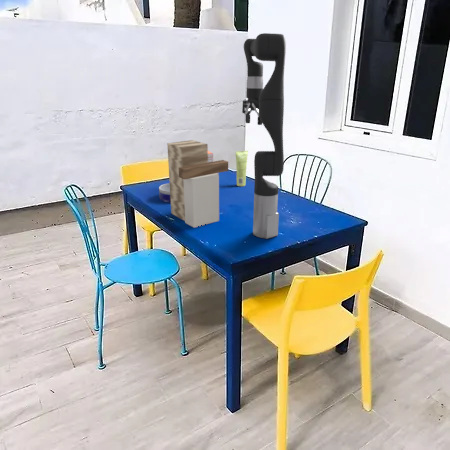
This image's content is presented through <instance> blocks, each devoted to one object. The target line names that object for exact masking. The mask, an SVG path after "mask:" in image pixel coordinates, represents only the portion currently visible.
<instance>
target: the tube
mask: <svg viewBox="0 0 450 450" xmlns="http://www.w3.org/2000/svg"><path fill="white" fill-rule="evenodd" d="M248 154H249V150H235V162H236V165H235V166H236V169H235V170H236V186H238V187H245V186H246V183H247V182H246V181H247V180H246V179H247V162H248V156H249V155H248Z"/></svg>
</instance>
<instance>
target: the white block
mask: <svg viewBox="0 0 450 450" xmlns="http://www.w3.org/2000/svg"><path fill="white" fill-rule="evenodd" d="M219 174H220V173H215V174H209V175H204V176H199V177H194V178H189V179H183V183H184V206H185V221H184V222H185V224H186V225H188V226H190V227H192V228H193V229H194V228H198V226H199V227H202V226H205V224H206V225H208V224H213V223H216V222H219V221H220V175H219ZM201 225H202V226H201Z"/></svg>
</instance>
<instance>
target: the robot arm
mask: <svg viewBox="0 0 450 450" xmlns="http://www.w3.org/2000/svg"><path fill="white" fill-rule="evenodd" d="M286 43H287V41H286V37H285V34H283V33H271V32H270V33H269V32H268V33H266V32H265V33H259V34H258V35H257V36H256V37H255V38H247V39H246V40H245V41H244V43H243V52H244V55H245V59H246V65H247V66H246V67H247V68H246V76H247V77H246V91H245V94H246V95H245V98H246V99H244V100H242V108H241V109H242V111H241V112H242V114H244V115H245V116H244V117H245V119H244V120H245V121H244V122H245V123H246V124H250V123H251V113H252V112H253V111H254V112H255V113H256V114H257V125H258V126H263V127H264V128H265V130H266V132H267V133H268V134H269V137H270V138H271V141H272V143H273V146H274V150H258V151H256V152H255V155H254V161H253V163H254V164H253V168H254V188H253V195H254V196H253V217H252V218H253V221H252V225H253V226H252V235H253V236H256V237H257V238H261V239H267V240H268V239H270V238H274V237H278V235H279V223H280V222H279V221H280V219H279V218H280V213H279V212H278V205H279V203H278V201H279V186H278V185H277V184H276V183H274V182H270V181H268V180H267V179H265V178H264V177H280V176H282V174H283V173H284V166H285V165H284V164H285V163H284V161H285V160H284V159H285V158H284V157H285V156H284V135H283V134H284V114H285V113H284V112H285V110H284V109H285V108H284V107H285V95H284V94H285V93H284V92H285V91H284V90H285V89H284V88H285V87H284V86H285V85H284V83H285V82H284V80H285V79H284V78H285V77H284V76H285V64H286V53H287V52H286V51H287V44H286ZM253 57H255V58H256V59H257V60H259V61H256V60H254V59H253ZM260 61H261V62H260ZM262 62H275V64H274V69H273V72H272V73H271V76H270V78H269V79H268V81H267V82H266V84H265V85H264V77H263V76H264V65H263V63H262Z"/></svg>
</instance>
